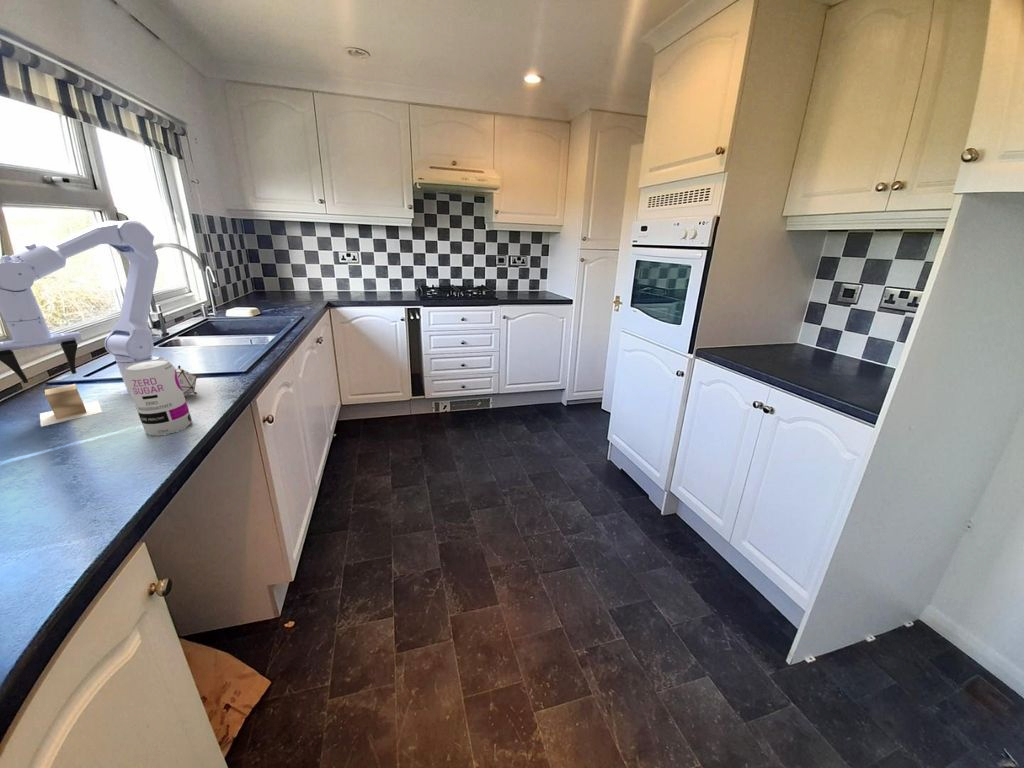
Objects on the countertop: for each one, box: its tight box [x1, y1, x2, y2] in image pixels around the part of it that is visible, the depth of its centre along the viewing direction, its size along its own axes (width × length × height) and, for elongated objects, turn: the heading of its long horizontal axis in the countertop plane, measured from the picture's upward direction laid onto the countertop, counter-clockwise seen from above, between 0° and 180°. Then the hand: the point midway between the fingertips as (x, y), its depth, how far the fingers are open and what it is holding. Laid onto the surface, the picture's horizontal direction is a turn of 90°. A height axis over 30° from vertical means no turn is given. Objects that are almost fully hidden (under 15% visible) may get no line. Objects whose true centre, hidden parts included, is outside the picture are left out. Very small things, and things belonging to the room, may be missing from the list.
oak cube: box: [44, 383, 86, 419], centre depth 96 cm, size 5×5×6 cm
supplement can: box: [124, 358, 193, 436], centre depth 88 cm, size 8×8×15 cm
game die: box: [175, 364, 201, 397], centre depth 106 cm, size 9×8×10 cm
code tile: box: [39, 400, 103, 427], centre depth 97 cm, size 10×10×1 cm
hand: (50, 377), depth 94 cm, fingers open, 7 cm apart
